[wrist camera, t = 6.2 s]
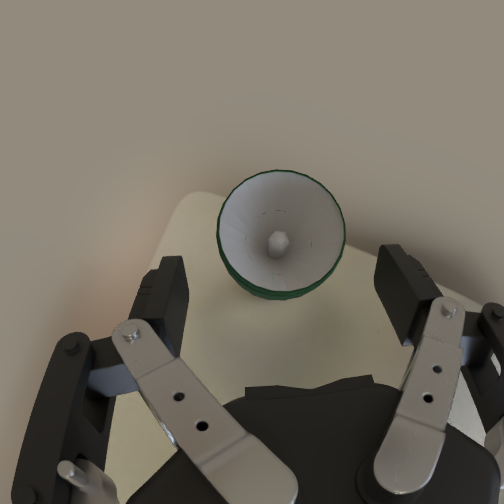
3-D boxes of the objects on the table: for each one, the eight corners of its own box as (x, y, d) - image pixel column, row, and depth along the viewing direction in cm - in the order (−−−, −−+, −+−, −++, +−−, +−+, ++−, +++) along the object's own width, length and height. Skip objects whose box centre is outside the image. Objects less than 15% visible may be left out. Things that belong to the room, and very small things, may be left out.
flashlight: (250, 321, 31) (240, 316, 11) (232, 271, 32) (197, 190, 12) (299, 302, 31) (368, 267, 12) (281, 254, 32) (317, 152, 13)
